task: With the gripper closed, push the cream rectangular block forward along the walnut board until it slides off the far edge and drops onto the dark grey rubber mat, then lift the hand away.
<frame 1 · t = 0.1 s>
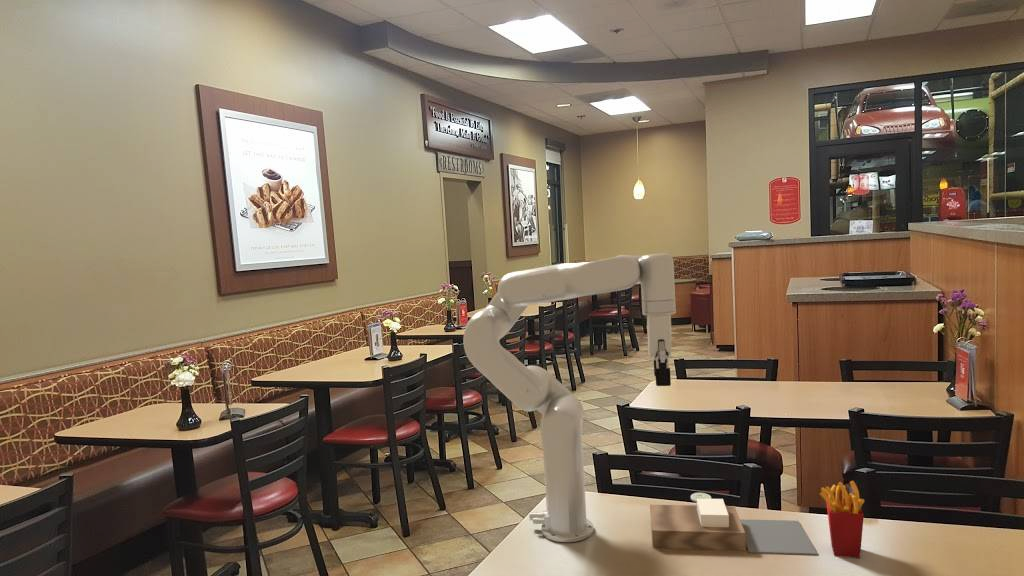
hand: (662, 380, 146), 37 cm above the table, tool pointing down, fingers open, 9 cm apart
sign: (701, 508, 162), on the table
mat: (774, 536, 144), on the table
board: (695, 534, 147), on the table
cream rectangular block: (712, 518, 146), point 4 cm above the table, touching board
french fries: (840, 550, 136), on the table
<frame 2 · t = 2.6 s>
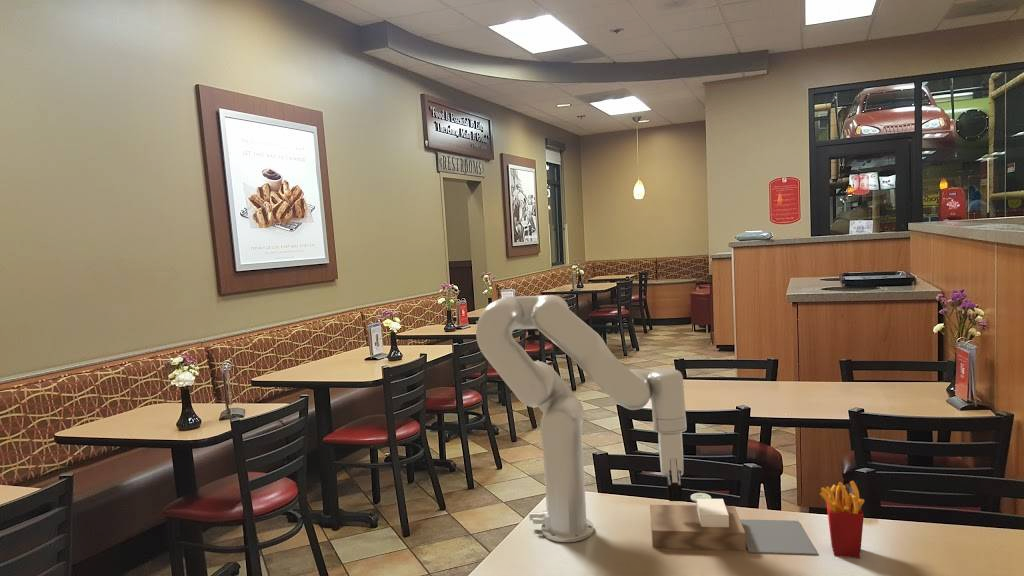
hand: (675, 499, 147), 8 cm above the table, tool pointing down, fingers closed
nothing on the table moved.
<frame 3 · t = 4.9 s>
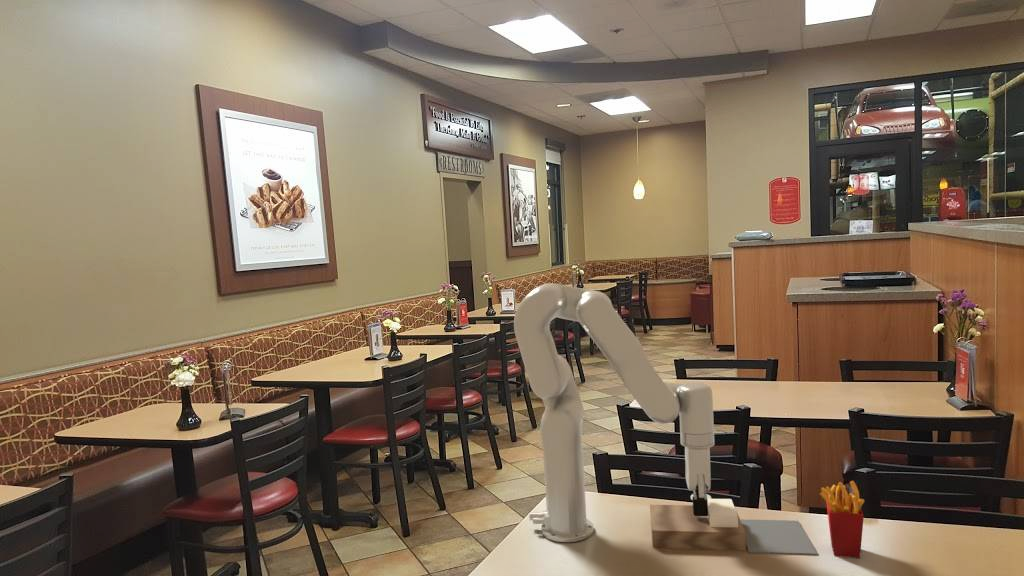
hand: (700, 514, 146), 5 cm above the table, tool pointing down, fingers closed
cream rectangular block: (721, 518, 145), point 4 cm above the table, touching gripper
everything else where it was.
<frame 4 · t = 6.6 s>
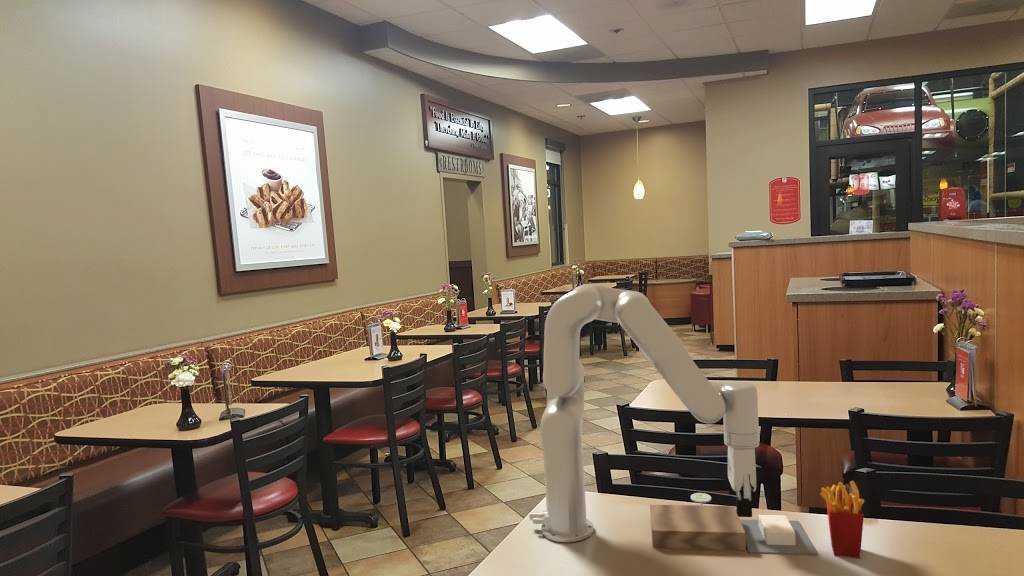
hand: (744, 515, 144), 5 cm above the table, tool pointing down, fingers closed
cream rectangular block: (776, 523, 143), point 3 cm above the table, tilted 180°, touching mat
everything else where it was.
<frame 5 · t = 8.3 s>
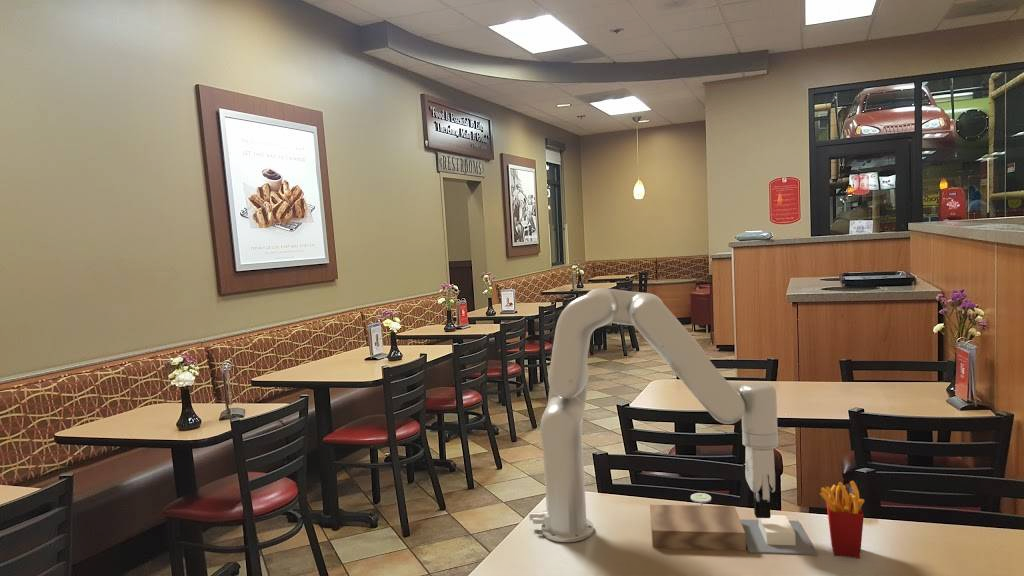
hand: (762, 516, 144), 5 cm above the table, tool pointing down, fingers closed
nothing on the table moved.
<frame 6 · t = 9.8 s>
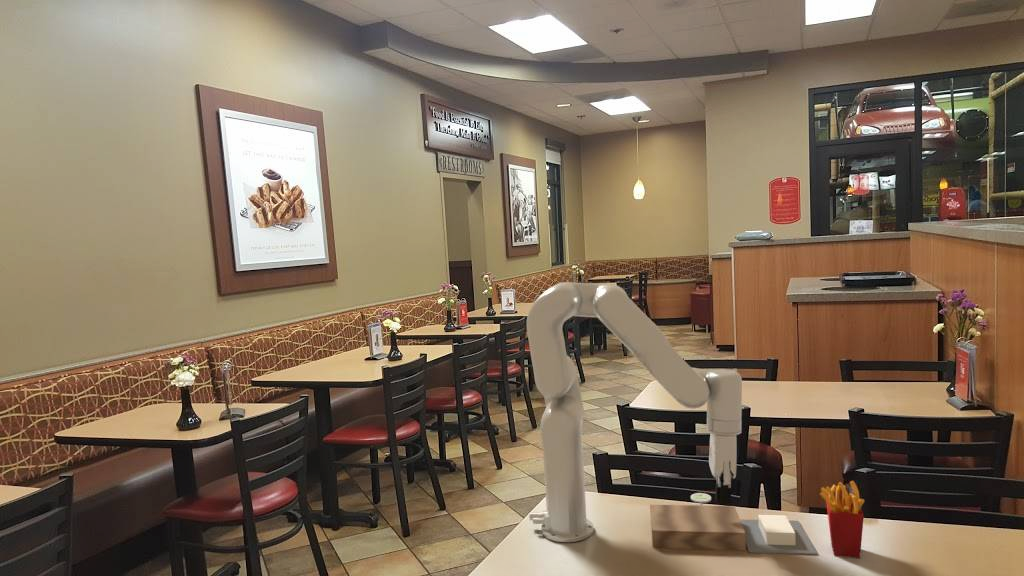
hand: (723, 502, 145), 8 cm above the table, tool pointing down, fingers closed
nothing on the table moved.
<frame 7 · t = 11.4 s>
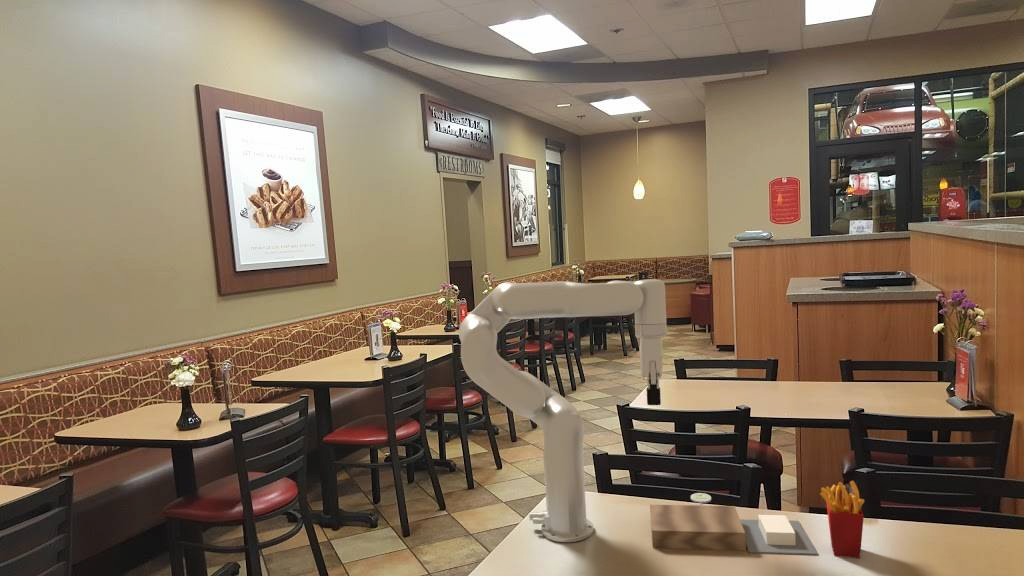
hand: (653, 404, 154), 29 cm above the table, tool pointing down, fingers closed
nothing on the table moved.
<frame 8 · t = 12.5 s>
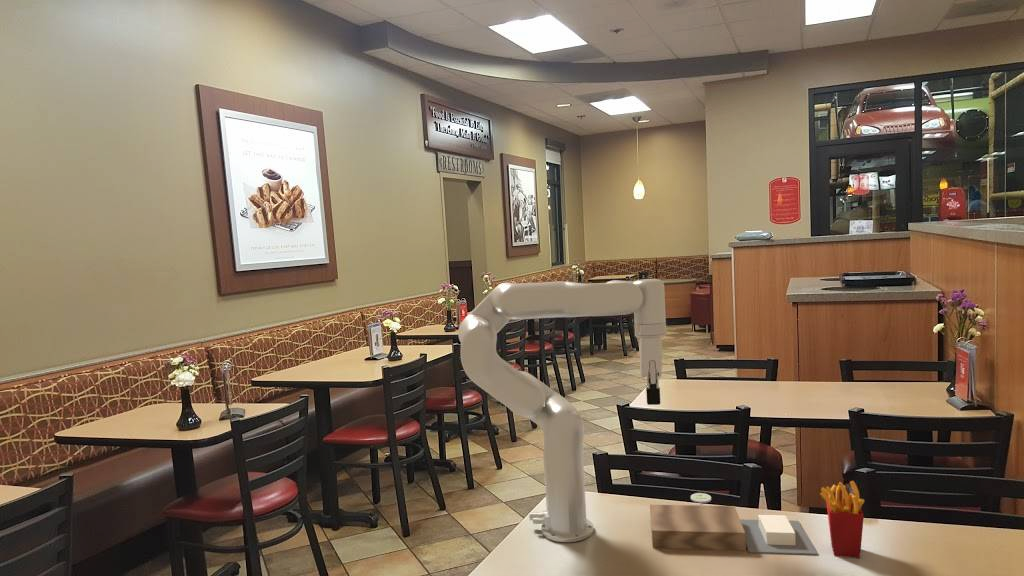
hand: (653, 403, 154), 29 cm above the table, tool pointing down, fingers closed
nothing on the table moved.
at the end: cream rectangular block inside the target area on the mat (0.2 cm from its centre), point 3.1 cm above the mat's base; cream rectangular block touching mat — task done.
